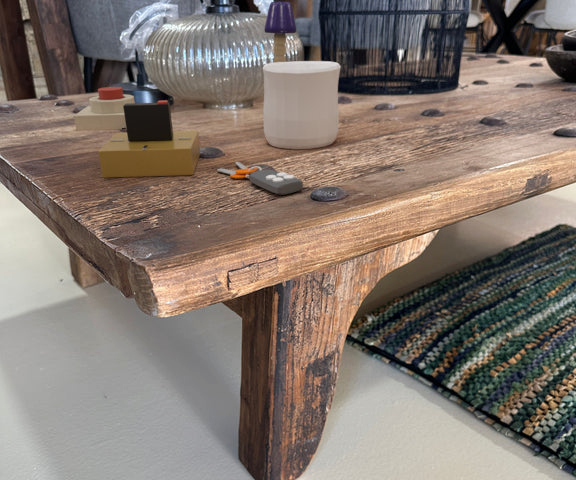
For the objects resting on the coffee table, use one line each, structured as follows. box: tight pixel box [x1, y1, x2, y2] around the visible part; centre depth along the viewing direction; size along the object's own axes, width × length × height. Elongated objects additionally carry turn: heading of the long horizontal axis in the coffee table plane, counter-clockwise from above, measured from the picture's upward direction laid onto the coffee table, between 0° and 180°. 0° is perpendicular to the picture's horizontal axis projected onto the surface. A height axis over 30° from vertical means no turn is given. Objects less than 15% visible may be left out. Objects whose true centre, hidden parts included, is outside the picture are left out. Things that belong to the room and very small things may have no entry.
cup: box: [262, 60, 342, 150], centre depth 75 cm, size 10×10×10 cm
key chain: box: [216, 161, 304, 196], centre depth 61 cm, size 13×4×2 cm, turn 37°
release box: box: [73, 93, 136, 131], centre depth 88 cm, size 10×8×4 cm
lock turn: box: [123, 99, 174, 141], centre depth 65 cm, size 5×1×4 cm, turn 93°
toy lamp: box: [264, 1, 297, 63], centre depth 85 cm, size 5×5×17 cm
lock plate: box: [97, 130, 201, 179], centre depth 67 cm, size 10×9×3 cm
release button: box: [97, 86, 124, 100], centre depth 87 cm, size 4×4×2 cm
